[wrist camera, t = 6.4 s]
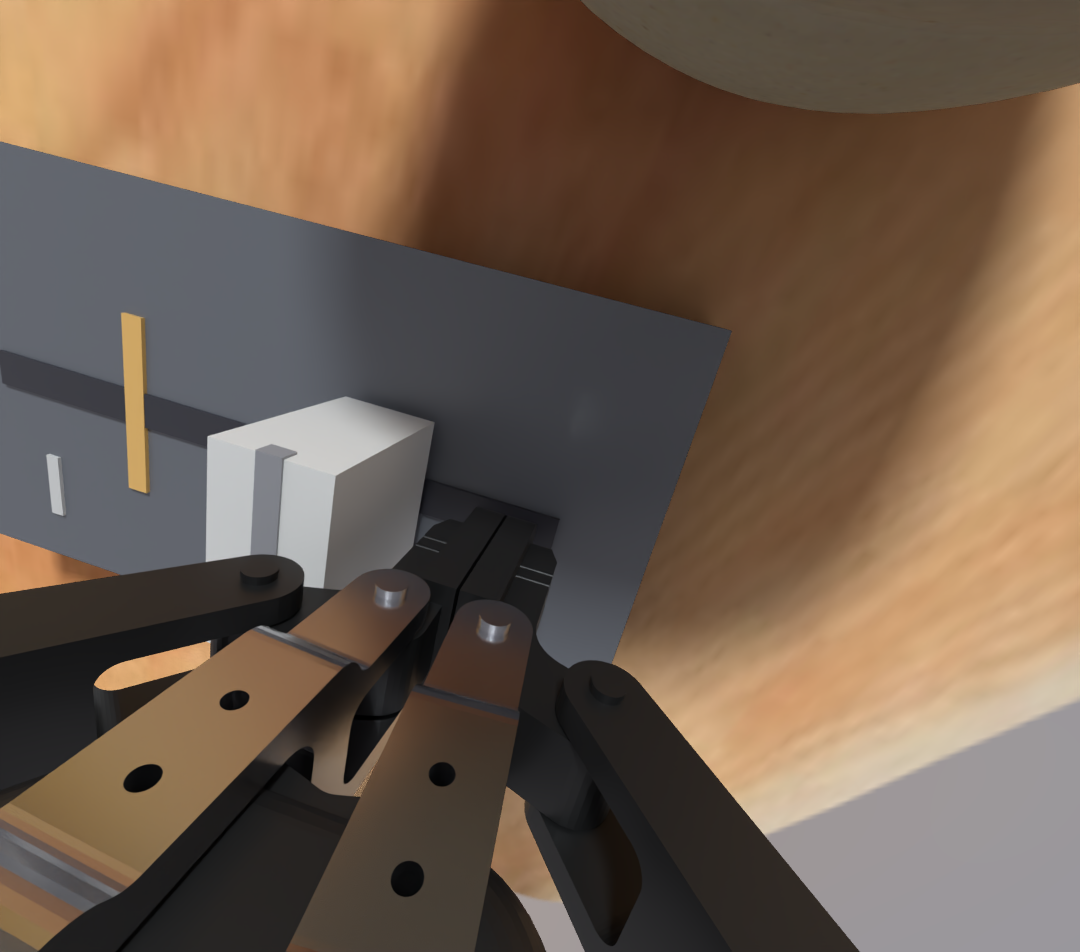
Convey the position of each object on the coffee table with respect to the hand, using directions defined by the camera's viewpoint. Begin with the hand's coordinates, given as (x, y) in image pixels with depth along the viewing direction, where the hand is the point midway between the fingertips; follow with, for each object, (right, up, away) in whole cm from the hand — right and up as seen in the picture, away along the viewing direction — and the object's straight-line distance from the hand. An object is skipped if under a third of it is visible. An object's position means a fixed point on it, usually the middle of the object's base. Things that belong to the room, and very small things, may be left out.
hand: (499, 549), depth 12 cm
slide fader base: (-6, +3, +5) cm, 9 cm away
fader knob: (-3, +1, +1) cm, 4 cm away
